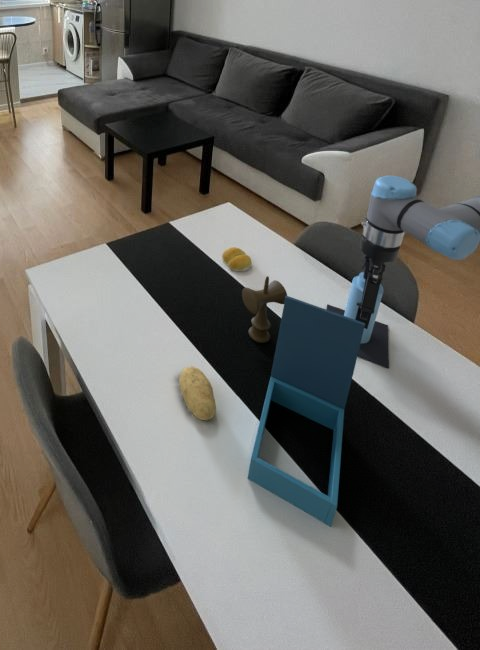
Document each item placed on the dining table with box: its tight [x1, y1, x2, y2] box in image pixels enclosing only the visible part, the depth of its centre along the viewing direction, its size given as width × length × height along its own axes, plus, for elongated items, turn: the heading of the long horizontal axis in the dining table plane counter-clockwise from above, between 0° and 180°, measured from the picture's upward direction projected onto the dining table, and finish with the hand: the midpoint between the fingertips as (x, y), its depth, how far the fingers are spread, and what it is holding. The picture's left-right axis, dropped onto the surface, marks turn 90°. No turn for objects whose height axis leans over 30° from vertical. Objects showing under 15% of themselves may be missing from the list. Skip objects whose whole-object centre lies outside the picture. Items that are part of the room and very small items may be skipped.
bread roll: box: [221, 247, 253, 272], centre depth 136 cm, size 8×9×4 cm
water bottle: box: [344, 271, 385, 343], centre depth 106 cm, size 6×6×20 cm
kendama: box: [241, 275, 288, 344], centre depth 107 cm, size 6×10×20 cm, turn 106°
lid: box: [270, 295, 365, 410], centre depth 87 cm, size 20×14×1 cm
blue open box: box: [247, 376, 345, 528], centre depth 83 cm, size 19×14×8 cm
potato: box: [179, 365, 217, 421], centre depth 95 cm, size 7×11×6 cm, turn 7°
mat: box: [326, 304, 390, 370], centre depth 110 cm, size 14×14×1 cm
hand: (361, 311), depth 107 cm, fingers open, 9 cm apart
